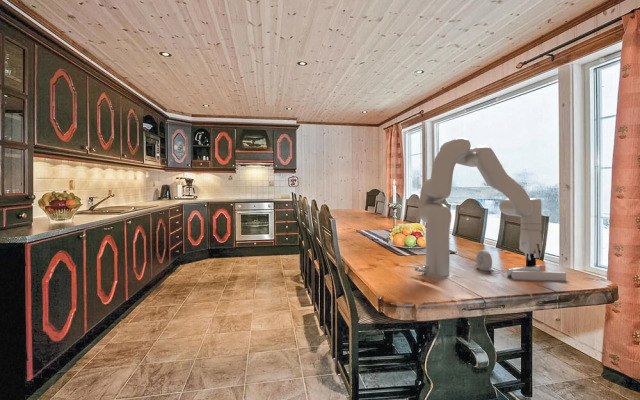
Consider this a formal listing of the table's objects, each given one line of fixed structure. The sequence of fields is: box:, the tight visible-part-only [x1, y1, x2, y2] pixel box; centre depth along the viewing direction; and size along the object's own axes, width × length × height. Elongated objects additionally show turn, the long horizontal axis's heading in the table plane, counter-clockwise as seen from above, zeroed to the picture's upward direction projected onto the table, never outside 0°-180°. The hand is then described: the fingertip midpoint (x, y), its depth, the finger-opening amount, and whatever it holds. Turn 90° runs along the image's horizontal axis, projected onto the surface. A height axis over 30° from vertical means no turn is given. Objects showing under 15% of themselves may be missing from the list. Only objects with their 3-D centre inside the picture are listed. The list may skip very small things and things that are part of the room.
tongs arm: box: [506, 264, 546, 278], centre depth 132 cm, size 20×2×3 cm, turn 109°
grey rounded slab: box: [475, 249, 493, 272], centre depth 142 cm, size 10×4×10 cm, turn 179°
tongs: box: [499, 271, 570, 283], centre depth 129 cm, size 21×12×4 cm, turn 81°
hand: (530, 268), depth 137 cm, fingers closed
